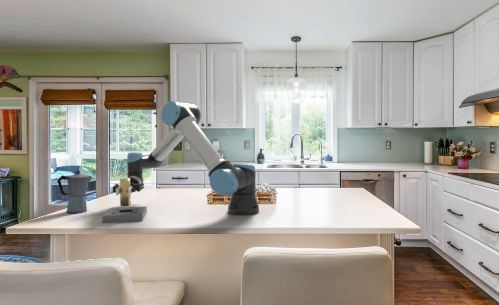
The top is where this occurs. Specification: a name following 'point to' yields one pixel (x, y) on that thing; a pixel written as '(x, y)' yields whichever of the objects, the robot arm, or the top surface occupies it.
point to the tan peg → (125, 192)
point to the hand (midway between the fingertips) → (122, 191)
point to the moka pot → (76, 191)
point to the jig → (125, 214)
